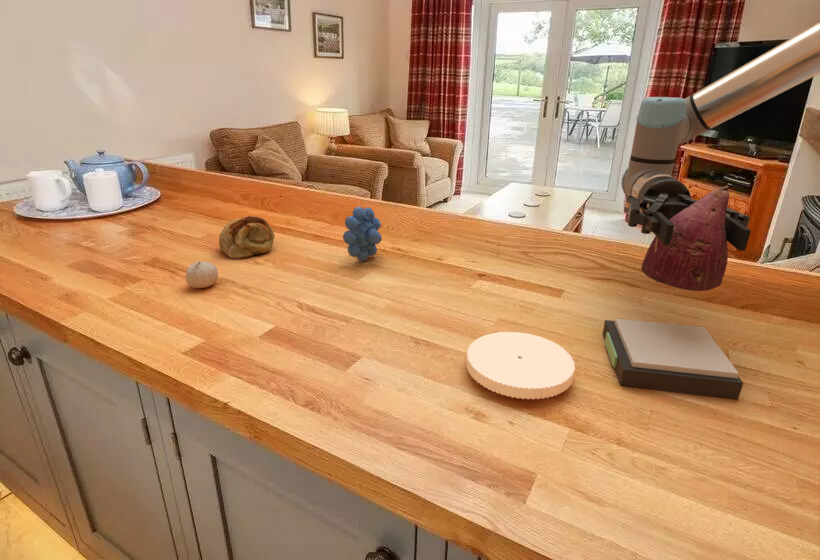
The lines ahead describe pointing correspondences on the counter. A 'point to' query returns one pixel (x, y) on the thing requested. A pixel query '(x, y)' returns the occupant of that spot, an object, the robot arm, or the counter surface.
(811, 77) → the robot arm
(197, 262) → the garlic
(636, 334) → the scale
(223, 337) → the counter surface
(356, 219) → the grapes
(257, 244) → the pastry
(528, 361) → the plastic lid
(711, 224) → the vegetable
